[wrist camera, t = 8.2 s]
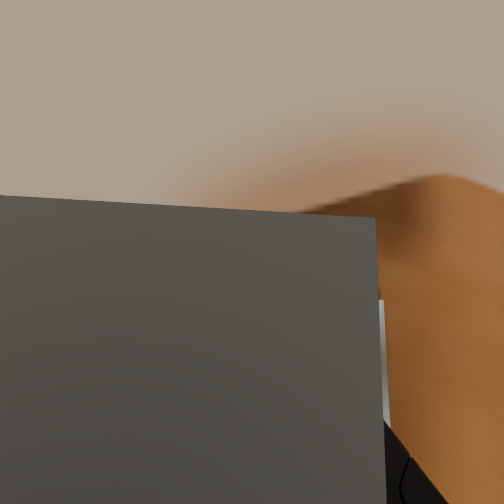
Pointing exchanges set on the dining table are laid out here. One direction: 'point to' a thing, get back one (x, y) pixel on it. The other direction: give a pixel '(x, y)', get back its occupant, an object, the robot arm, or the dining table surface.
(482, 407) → the dining table surface
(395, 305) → the dining table surface
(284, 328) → the post
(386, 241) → the dining table surface
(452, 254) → the dining table surface
